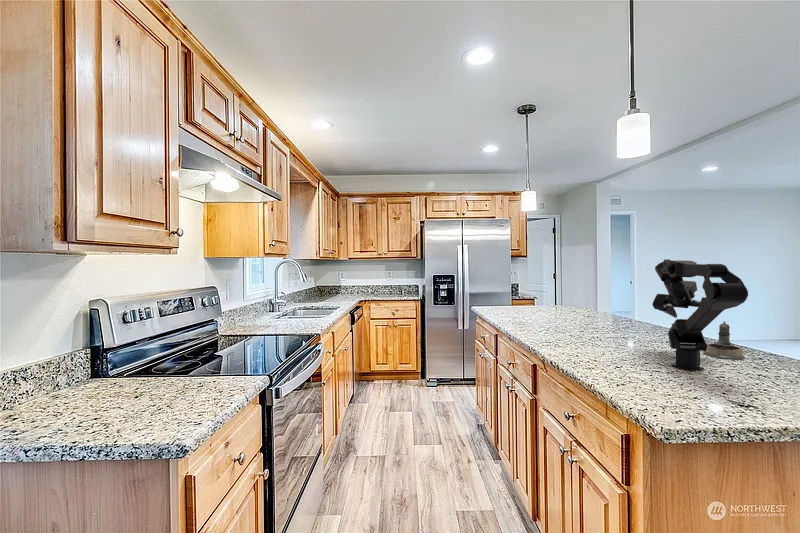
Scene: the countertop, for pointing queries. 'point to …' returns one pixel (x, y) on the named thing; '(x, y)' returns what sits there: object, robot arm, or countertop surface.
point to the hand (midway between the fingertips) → (690, 318)
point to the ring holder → (724, 352)
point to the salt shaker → (724, 337)
